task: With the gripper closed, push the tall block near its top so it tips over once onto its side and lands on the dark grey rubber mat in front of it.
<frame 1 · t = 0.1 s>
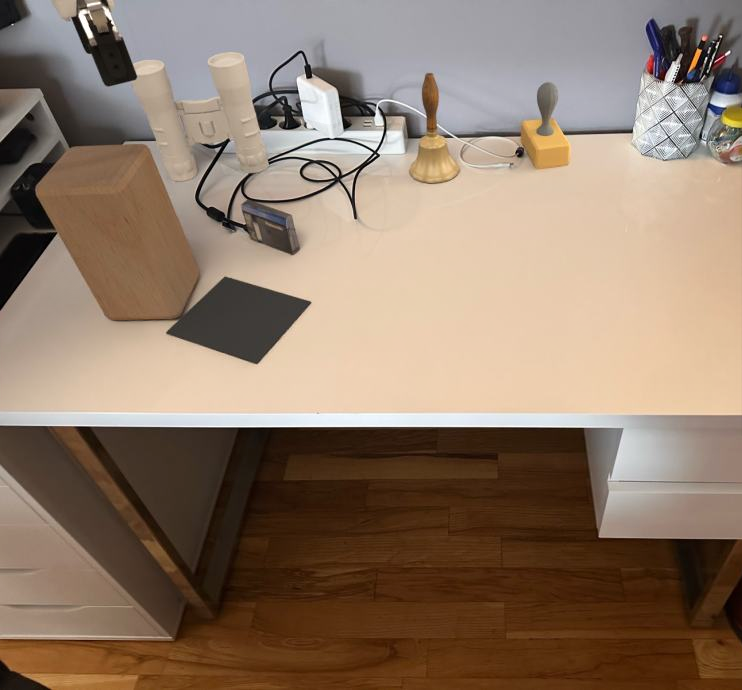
hand: (111, 65, 70), 30 cm above the table, tool pointing down, fingers open, 9 cm apart
rubber stamp: (544, 153, 114), on the table
binoculars: (219, 171, 113), on the table
hand bell: (434, 171, 111), on the table
mini dv tape: (275, 245, 98), on the table
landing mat: (240, 318, 87), on the table
block: (157, 298, 90), on the table, touching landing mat
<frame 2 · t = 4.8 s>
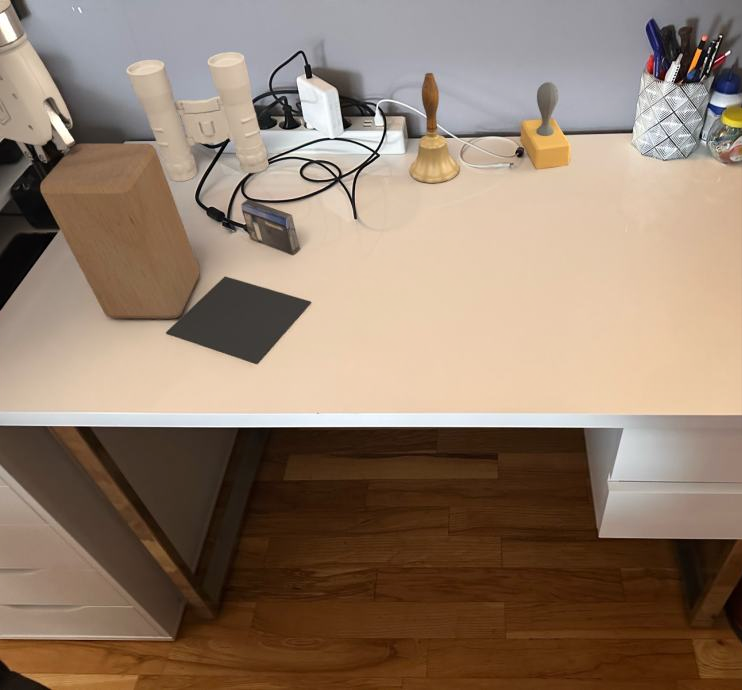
hand: (61, 184, 82), 15 cm above the table, tool pointing down, fingers closed
block: (156, 297, 90), on the table, touching gripper, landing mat
everything else where it was.
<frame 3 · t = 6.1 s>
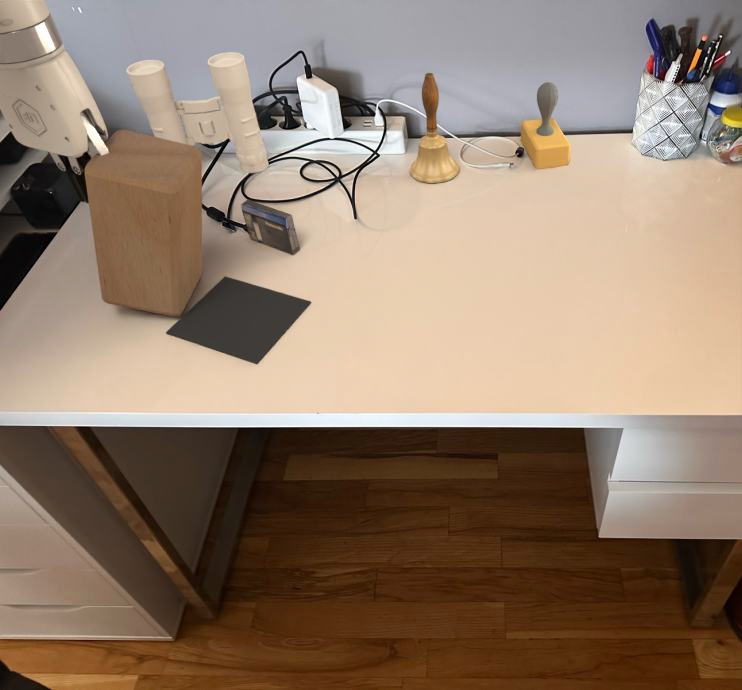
hand: (94, 196, 80), 15 cm above the table, tool pointing down, fingers closed
block: (154, 290, 89), point 1 cm above the table, touching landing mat
everything else where it was.
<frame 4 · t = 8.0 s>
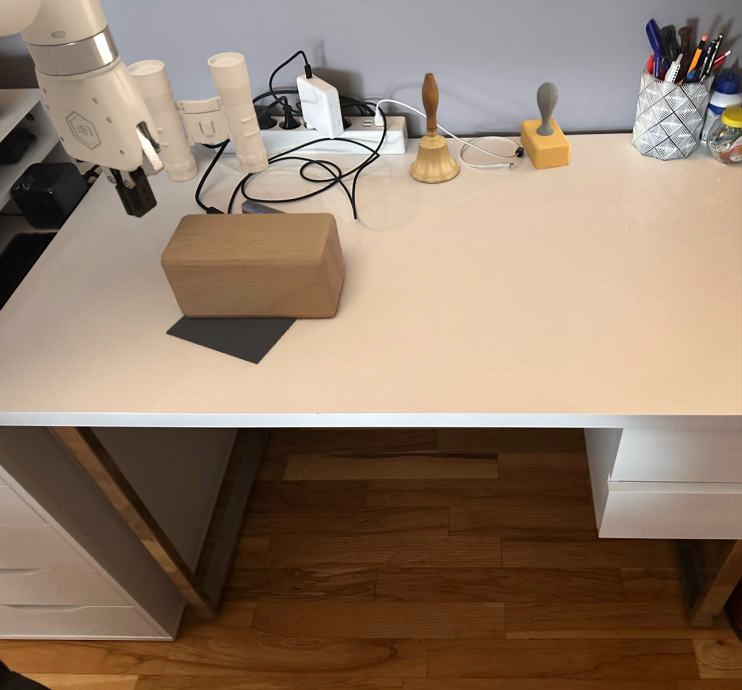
hand: (143, 210, 78), 15 cm above the table, tool pointing down, fingers closed
block: (180, 266, 86), point 5 cm above the table, touching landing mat
everything else where it was.
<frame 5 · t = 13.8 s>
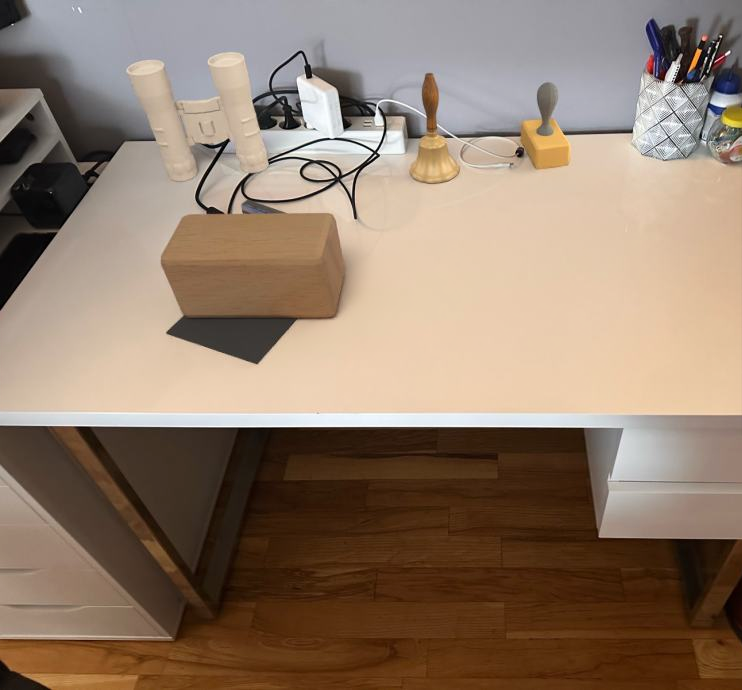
nothing on the table moved.
at the end: block tilted 90°; block inside the target area (5.4 cm from its centre), point 5.3 cm above the table; the gripper is holding nothing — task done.
